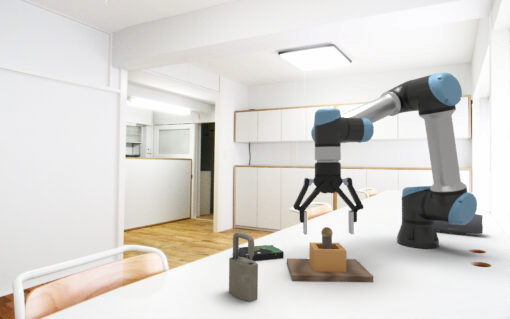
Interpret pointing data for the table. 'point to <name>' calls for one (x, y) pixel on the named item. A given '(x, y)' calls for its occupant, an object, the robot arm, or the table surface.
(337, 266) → the hollow square frame
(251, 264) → the padlock
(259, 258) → the disk drive
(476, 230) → the bluetooth speaker
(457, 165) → the robot arm
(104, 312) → the table surface
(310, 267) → the wooden peg board
